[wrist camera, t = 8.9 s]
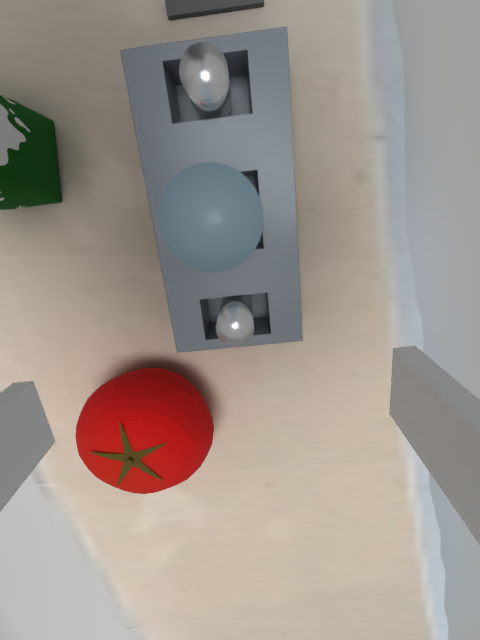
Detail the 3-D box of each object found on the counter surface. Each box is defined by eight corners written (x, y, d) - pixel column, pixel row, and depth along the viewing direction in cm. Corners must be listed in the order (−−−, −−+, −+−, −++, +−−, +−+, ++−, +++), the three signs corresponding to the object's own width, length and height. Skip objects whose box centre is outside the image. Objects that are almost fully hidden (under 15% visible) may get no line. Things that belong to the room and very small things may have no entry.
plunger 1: (191, 83, 27) (175, 45, 21) (229, 78, 27) (225, 38, 21) (197, 126, 28) (183, 103, 22) (233, 121, 28) (230, 97, 22)
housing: (144, 80, 29) (120, 50, 23) (278, 62, 29) (287, 26, 23) (187, 330, 37) (177, 352, 31) (293, 319, 36) (302, 340, 31)
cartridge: (195, 187, 31) (148, 169, 16) (251, 180, 31) (258, 155, 16) (203, 244, 33) (168, 277, 18) (256, 238, 33) (267, 266, 17)
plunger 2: (219, 291, 33) (213, 312, 27) (250, 288, 33) (252, 308, 27) (223, 321, 34) (218, 347, 28) (253, 318, 34) (255, 344, 28)
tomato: (226, 368, 39) (220, 423, 29) (206, 453, 43) (195, 527, 33) (105, 342, 38) (56, 391, 28) (96, 432, 42) (51, 502, 32)
